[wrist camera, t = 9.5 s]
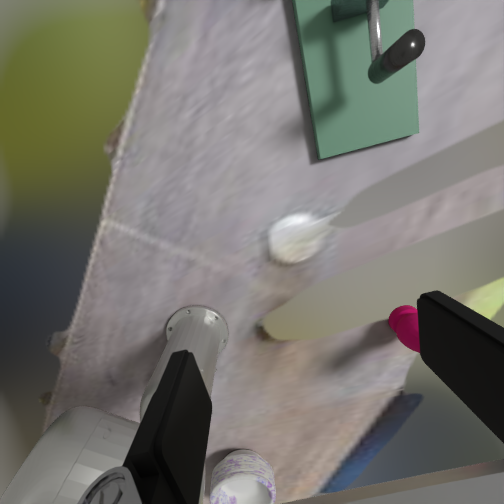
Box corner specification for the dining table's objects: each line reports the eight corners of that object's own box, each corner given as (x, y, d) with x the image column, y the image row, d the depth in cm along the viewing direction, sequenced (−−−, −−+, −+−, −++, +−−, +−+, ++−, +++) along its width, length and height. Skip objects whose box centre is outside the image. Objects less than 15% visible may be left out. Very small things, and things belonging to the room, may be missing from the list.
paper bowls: (284, 457, 63) (290, 496, 55) (247, 489, 66) (247, 530, 59) (238, 430, 60) (237, 467, 52) (201, 465, 63) (195, 504, 55)
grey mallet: (388, 86, 37) (445, 51, 26) (342, 99, 37) (380, 69, 27) (381, -14, 33) (443, -101, 23) (330, 2, 34) (368, -77, 23)
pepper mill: (381, 331, 52) (460, 422, 33) (390, 301, 50) (479, 379, 31) (414, 334, 52) (510, 425, 33) (425, 304, 50) (534, 382, 31)
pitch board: (413, 134, 41) (419, 132, 39) (318, 159, 42) (320, 159, 40) (402, -62, 33) (409, -72, 32) (288, -26, 34) (289, -35, 33)
